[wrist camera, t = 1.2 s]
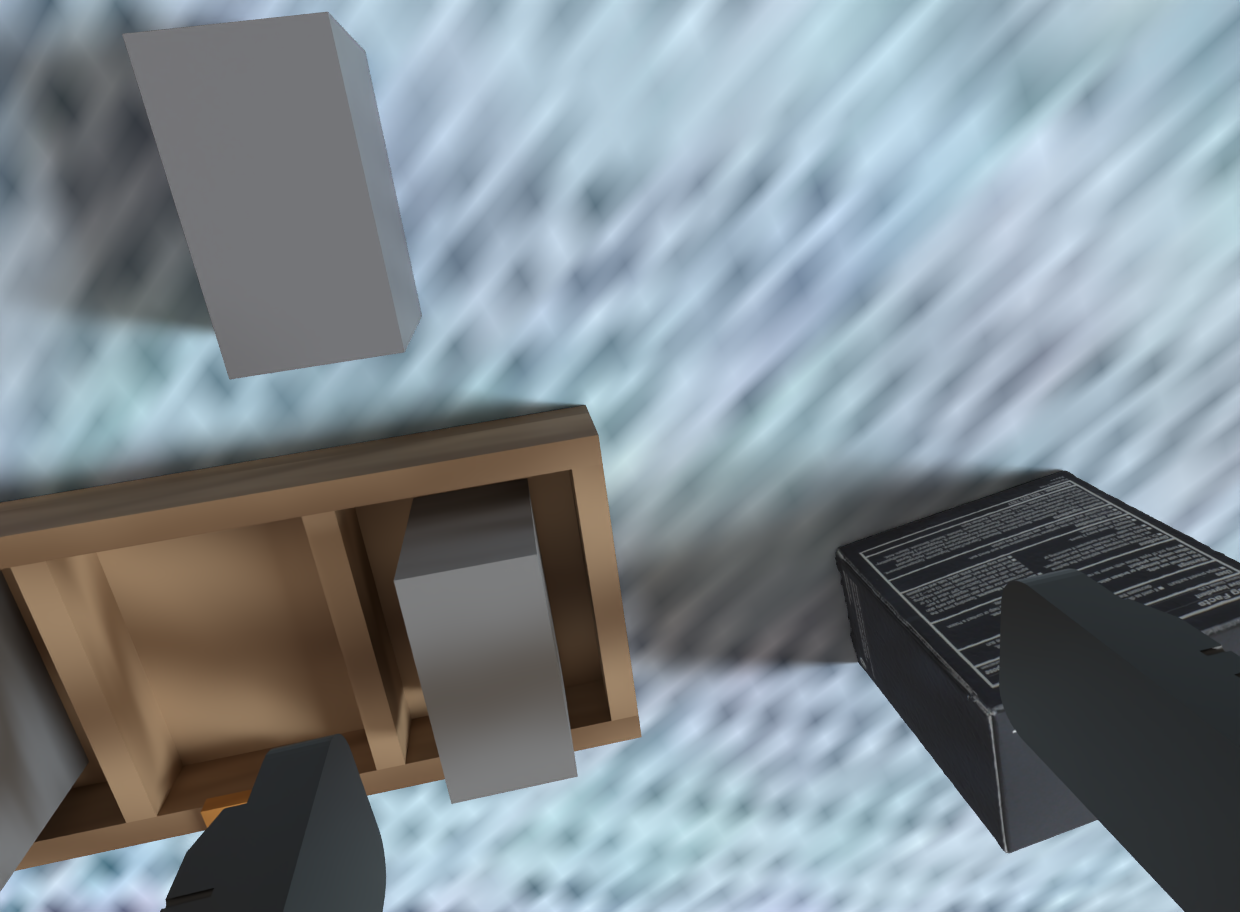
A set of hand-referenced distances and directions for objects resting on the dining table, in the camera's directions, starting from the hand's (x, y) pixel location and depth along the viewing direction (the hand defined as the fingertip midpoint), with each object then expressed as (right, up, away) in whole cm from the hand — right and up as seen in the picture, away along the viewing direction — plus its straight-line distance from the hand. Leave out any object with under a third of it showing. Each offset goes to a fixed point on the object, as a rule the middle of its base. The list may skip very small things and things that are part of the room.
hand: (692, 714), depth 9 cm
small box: (+13, -2, +24) cm, 28 cm away
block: (-10, +11, +15) cm, 21 cm away
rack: (-14, -3, +19) cm, 24 cm away
